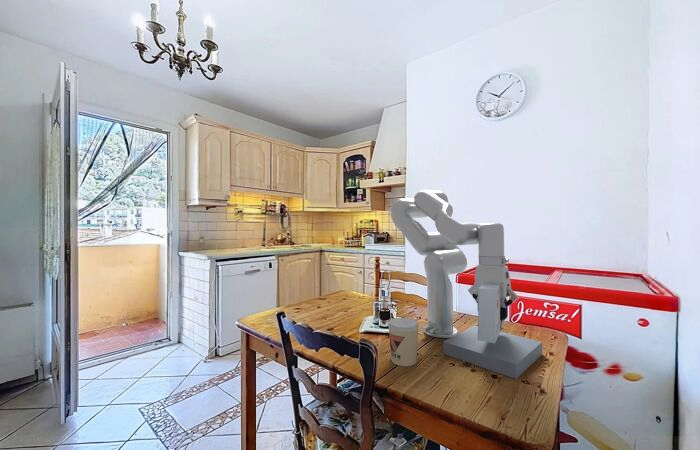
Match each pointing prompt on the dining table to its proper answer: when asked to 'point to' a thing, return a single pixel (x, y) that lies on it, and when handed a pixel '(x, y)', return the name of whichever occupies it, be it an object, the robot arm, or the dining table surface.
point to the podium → (494, 351)
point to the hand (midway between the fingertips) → (492, 316)
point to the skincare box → (489, 313)
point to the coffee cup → (403, 341)
